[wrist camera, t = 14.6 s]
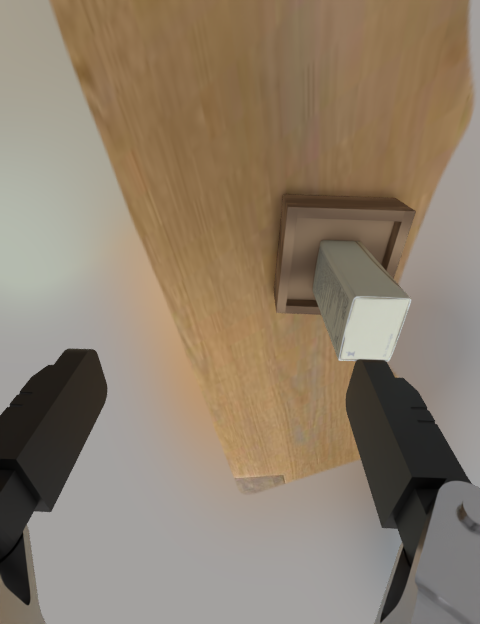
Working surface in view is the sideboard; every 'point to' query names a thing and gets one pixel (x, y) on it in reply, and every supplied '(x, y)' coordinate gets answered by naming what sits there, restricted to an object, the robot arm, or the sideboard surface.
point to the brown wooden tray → (338, 227)
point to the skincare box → (358, 301)
